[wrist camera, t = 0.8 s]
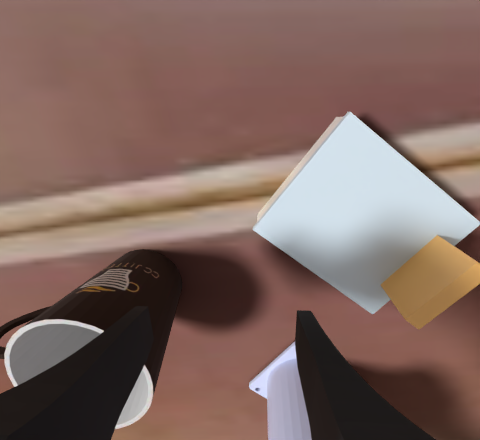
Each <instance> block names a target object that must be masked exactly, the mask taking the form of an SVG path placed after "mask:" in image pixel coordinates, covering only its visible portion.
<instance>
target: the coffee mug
mask: <svg viewBox="0 0 480 440" xmlns="http://www.w3.org/2000/svg"><path fill="white" fill-rule="evenodd" d="M181 289H182V280H181V276H180V273H179V271H178V269H177V268H176V266H175V265H174V264H173V263H172V262H171V261H170V260H169V259H168V258H166V257H165V256H163V255H161V254H159V253H157V252H154V251H151V250H134V251H131V252H128V253H126V254H124V255H123V256H122V257H120V258H119V259H117V260H116V261H115V262H113V263H112V264H110V265H109V266H108V267H106V268H105V269H103V270H102V271H100V272H99V273H98V274H96V275H95V276H93V277H92V278H91V279H89V280H88V281H86V282H85V283H84V284H82V285H81V286H79V287H78V288H77V289H75V290H74V291H72V292H71V293H70V294H68V295H67V296H65V297H64V298H63V299H61V300H60V301H58V302H57V303H55V304H54V305H53V306H50V307H46V308H43V309H40V310H37V311H34V312H31V313H29V314H26V315H23V316H21V317H19V318H16V319H14V320H12V321H10V322H8V323H6V324H4V325H3V326H1V327H0V339H1V337H2V336H3V335H4V334H6V333H7V332H8V331H10V330H11V329H13V328H15V327H17V326H19V325H21V324H23V323H26V322H28V321H30V320H32V319H33V320H32V321H30V322H29V323H27V324H26V325H25V326H23V327H22V328H20V329H19V330H18V331H17V332H16V333H15V334H13V335H12V337H11V338H10V340H9V342H8V343H7V346H6V348H4V347H0V359H5V367H6V370H7V374H8V376H9V378H10V380H11V382H12V384H13V385H14V387H16V386H18V385H20V384H22V383H24V382H26V381H27V380H29V379H31V378H33V377H35V376H36V375H38V374H40V373H42V372H44V371H46V370H47V369H49V368H51V367H53V366H54V365H56V364H58V363H59V362H61V361H62V360H64V359H66V358H67V357H69V356H70V355H72V354H73V353H75V352H76V351H78V350H79V349H81V348H82V347H83V346H85V345H86V344H87V343H89V342H90V341H92V340H93V339H94V338H96V337H97V336H99V335H100V334H101V333H102V332H104V331H105V330H106V329H108V328H109V327H110V326H111V325H113V324H114V323H115V322H116V321H118V320H119V319H120V318H121V317H123V316H124V315H125V314H126V313H128V312H129V311H130V310H132V309H133V308H134V307H136V306H148V308H149V314H150V320H151V325H152V331H153V337H154V341H153V344H152V347H151V350H150V353H149V355H148V358H147V361H146V363H145V365H144V367H143V369H142V371H141V373H140V375H139V377H138V379H137V381H136V383H135V386H134V388H133V390H132V392H131V394H130V396H129V398H128V400H127V402H126V404H125V406H124V408H123V410H122V412H121V415H120V417H119V419H118V422H117V424H116V427H115V429H118V428H122V427H125V426H128V425H130V424H132V423H134V422H136V421H138V420H139V419H140V418H141V417H142V416H143V415H144V414H146V412H147V410H148V409H149V407H150V406H151V402H152V399H153V395H154V391H155V387H156V384H157V380H158V376H159V372H160V369H161V365H162V361H163V357H164V353H165V350H166V346H167V342H168V338H169V335H170V331H171V327H172V323H173V320H174V316H175V312H176V308H177V305H178V301H179V297H180V293H181Z"/></svg>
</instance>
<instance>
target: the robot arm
mask: <svg viewBox="0 0 480 440" xmlns="http://www.w3.org/2000/svg"><path fill="white" fill-rule="evenodd" d="M153 341H154V337H153V331H152V325H151V320H150V314H149V308H148V306H136V307H134V308H133V309H132V310H130V311H129V312H128V313H126V314H125V315H124V316H123V317H121V318H120V319H119V320H118V321H116V322H115V323H114V324H113V325H111V326H110V327H109V328H108V329H106V330H105V331H104V332H102V333H101V334H100V335H99V336H97V337H96V338H94V339H93V340H92V341H90V342H89V343H87V344H86V345H85V346H83V347H82V348H81V349H79V350H78V351H76V352H75V353H73V354H72V355H70V356H69V357H67V358H66V359H64V360H62V361H61V362H59V363H58V364H56V365H54V366H53V367H51V368H49V369H47V370H46V371H44V372H42V373H40V374H38V375H36V376H35V377H33V378H31V379H29V380H27V381H26V382H24V383H22V384H20V385H18V386H16V387H14V388H12V389H10V390H8V391H5V392H3V393H1V394H0V440H111V437H112V435H113V432H114V430H115V427H116V424H117V422H118V419H119V417H120V415H121V412H122V410H123V408H124V406H125V404H126V402H127V400H128V398H129V396H130V394H131V392H132V390H133V388H134V386H135V383H136V381H137V379H138V377H139V375H140V373H141V371H142V369H143V367H144V365H145V363H146V361H147V358H148V355H149V353H150V350H151V347H152V344H153ZM249 388H250V389H251V390H253V391H255V392H256V393H258V394H260V395H261V396H263V397H265V398H266V399H267V409H268V440H436V439H434V438H433V437H431V436H430V435H429V434H427V433H426V432H424V431H423V430H422V429H420V428H419V427H417V426H416V425H415V424H413V423H412V422H411V421H410V420H408V419H407V418H406V417H405V416H403V415H402V414H401V413H400V412H398V411H397V410H396V409H395V408H394V407H392V406H391V405H390V404H389V403H388V402H387V401H386V400H385V399H383V398H382V397H381V396H380V395H379V394H378V393H377V392H376V391H375V390H374V389H373V388H372V387H370V386H369V385H368V384H367V383H366V382H365V381H364V380H363V378H362V377H361V376H360V375H359V374H358V373H357V372H356V371H355V370H354V369H353V368H352V367H351V365H350V364H349V363H348V362H347V361H346V360H345V358H344V357H343V356H342V355H341V354H340V352H339V351H338V350H337V348H336V347H335V346H334V344H333V343H332V342H331V340H330V339H329V338H328V336H327V335H326V334H325V332H324V331H323V329H322V328H321V326H320V325H319V323H318V321H317V320H316V318H315V317H314V315H313V313H312V312H311V311H297V320H296V337H295V342H293V343H292V344H291V345H290V346H289V347H288V348H287V349H286V350H285V351H283V352H282V353H281V354H280V355H279V356H278V357H277V358H276V359H275V360H274V361H272V362H271V363H270V364H269V365H268V366H267V367H266V368H265V369H264V370H263V371H261V372H260V373H259V374H258V375H257V376H256V377H255V378H254V379H253V380H252V381H250V383H249Z"/></svg>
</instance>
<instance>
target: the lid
mask: <svg viewBox="0 0 480 440" xmlns="http://www.w3.org/2000/svg"><path fill="white" fill-rule="evenodd" d="M479 225H480V222H479V221H478V220H477V219H476V218H475V217H473V216H472V215H471V214H470V213H469V212H468V211H466V210H465V209H464V208H463V207H462V206H460V205H459V204H458V203H457V202H456V201H455V200H453V199H452V198H451V197H450V196H449V195H448V194H446V193H445V192H444V191H443V190H442V189H440V188H439V187H438V186H437V185H436V184H435V183H433V182H432V181H431V180H430V179H429V178H428V177H426V176H425V175H424V174H423V173H422V172H421V171H419V170H418V169H417V168H416V167H415V166H413V165H412V164H411V163H410V162H409V161H408V160H406V159H405V158H404V157H403V156H402V155H401V154H399V153H398V152H397V151H396V150H395V149H393V148H392V147H391V146H390V145H389V144H388V143H386V142H385V141H384V140H383V139H382V138H381V137H379V136H378V135H377V134H376V133H375V132H373V131H372V130H371V129H370V128H369V127H368V126H366V125H365V124H364V123H363V122H362V121H361V120H359V119H358V118H357V117H356V116H355V115H353V114H352V113H351V112H347V113H346V115H345V116H344V117H343V118H342V119H341V121H340V122H339V123H338V124H337V126H336V127H335V128H334V129H333V130H332V132H331V133H330V134H329V135H328V136H327V138H326V139H325V140H324V141H323V143H322V144H321V145H320V146H319V147H318V149H317V150H316V151H315V152H314V153H313V155H312V156H311V157H310V158H309V160H308V161H307V162H306V163H305V164H304V166H303V167H302V168H301V169H300V170H299V172H298V173H297V174H296V175H295V177H294V178H293V179H292V180H291V181H290V183H289V184H288V185H287V186H286V188H285V189H284V190H283V191H282V192H281V194H280V195H279V196H278V197H277V198H276V200H275V201H274V202H273V203H272V205H271V206H270V207H269V208H268V209H267V211H266V212H265V213H264V214H263V215H262V217H261V218H260V219H259V220H258V222H257V223H256V224H255V225H254V226H253V230H254V231H255V232H257V233H258V234H260V235H261V236H262V237H264V238H265V239H267V240H268V241H269V242H271V243H272V244H274V245H275V246H276V247H278V248H279V249H281V250H282V251H284V252H285V253H286V254H288V255H289V256H291V257H292V258H293V259H295V260H296V261H298V262H299V263H301V264H302V265H303V266H305V267H306V268H308V269H309V270H310V271H312V272H313V273H315V274H316V275H318V276H319V277H320V278H322V279H323V280H325V281H326V282H327V283H329V284H330V285H332V286H333V287H335V288H336V289H337V290H339V291H340V292H342V293H343V294H344V295H346V296H347V297H349V298H350V299H351V300H353V301H354V302H356V303H357V304H359V305H360V306H361V307H363V308H364V309H366V310H367V311H368V312H370V313H371V314H374V313H375V312H376V311H377V310H379V309H380V308H381V307H382V306H383V305H385V304H386V303H387V302H388V301H389V300H391V301H392V302H393V303H394V305H395V306H396V308H397V309H398V310H399V312H400V313H401V315H402V316H403V317H404V319H405V320H406V321H408V322H409V323H411V324H412V325H413V326H415V327H416V328H417V329H421V328H422V327H423V326H425V325H426V324H427V323H428V322H430V321H431V320H432V319H434V318H435V317H436V316H438V315H439V314H440V313H442V312H443V311H444V310H446V309H447V308H448V307H450V306H451V305H452V304H454V303H455V302H456V301H458V300H459V299H460V298H462V297H463V296H464V295H466V294H467V293H468V292H470V291H471V290H472V289H473V288H475V287H476V286H477V285H479V284H480V263H478V262H477V261H476V260H474V259H473V258H471V257H470V256H468V255H467V254H465V253H464V252H462V251H461V250H459V249H458V248H456V247H455V245H456V244H457V243H459V242H460V241H461V240H462V239H463V238H465V237H466V236H467V235H468V234H469V233H471V232H472V231H473V230H474V229H475V228H477V227H478V226H479Z"/></svg>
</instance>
